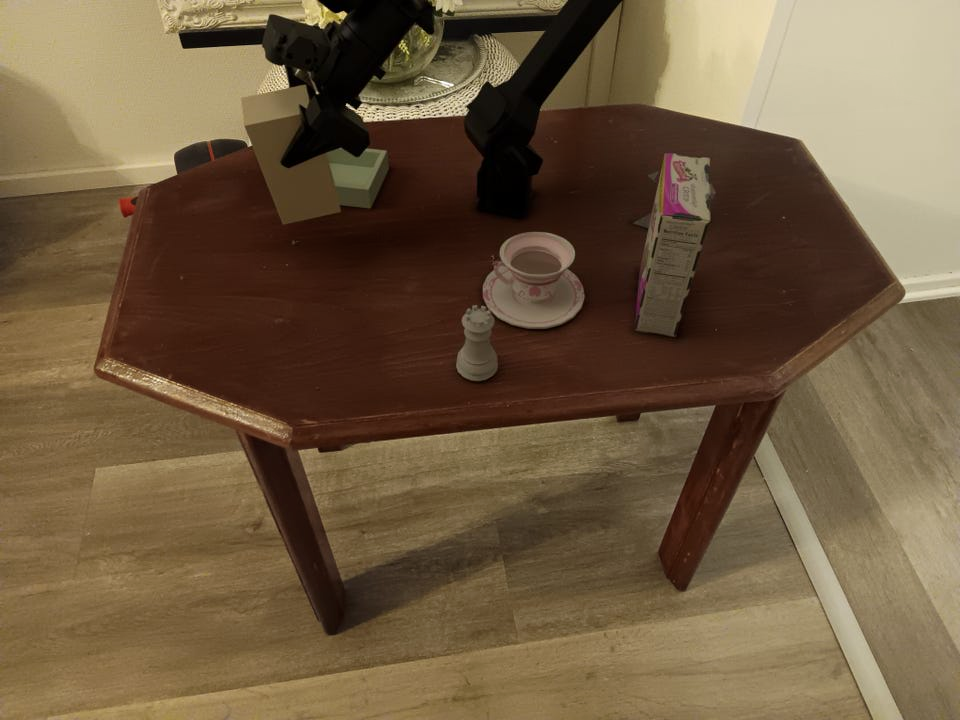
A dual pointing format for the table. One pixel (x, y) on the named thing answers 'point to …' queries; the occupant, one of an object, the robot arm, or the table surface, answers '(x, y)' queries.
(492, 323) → the rook chess piece
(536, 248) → the teacup
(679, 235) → the candy bar box
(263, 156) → the tan rectangular block
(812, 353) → the table surface
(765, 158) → the table surface
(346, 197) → the socket
